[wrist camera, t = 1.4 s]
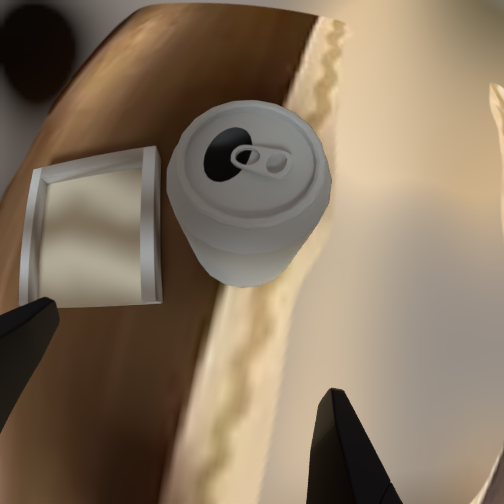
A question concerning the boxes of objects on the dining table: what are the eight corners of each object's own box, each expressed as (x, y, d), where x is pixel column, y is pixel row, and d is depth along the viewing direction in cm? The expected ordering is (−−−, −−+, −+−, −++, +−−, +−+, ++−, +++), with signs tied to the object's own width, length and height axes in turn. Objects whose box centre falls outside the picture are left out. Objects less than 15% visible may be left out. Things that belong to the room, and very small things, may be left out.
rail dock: (162, 303, 22) (155, 300, 20) (33, 308, 21) (19, 305, 19) (161, 159, 25) (155, 145, 23) (44, 179, 24) (33, 169, 22)
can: (218, 181, 25) (206, 71, 13) (306, 214, 24) (358, 120, 13) (178, 266, 23) (124, 201, 11) (273, 304, 23) (311, 274, 11)
